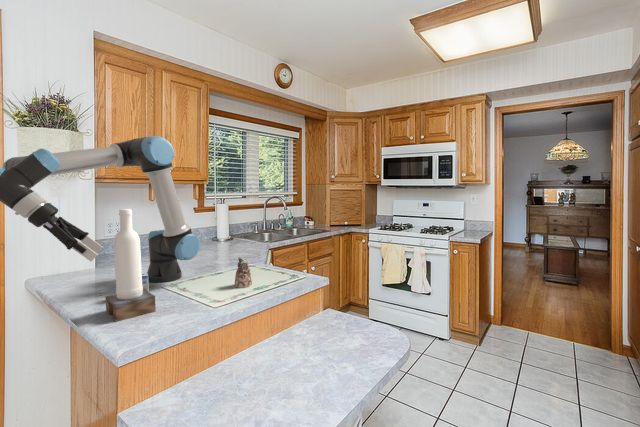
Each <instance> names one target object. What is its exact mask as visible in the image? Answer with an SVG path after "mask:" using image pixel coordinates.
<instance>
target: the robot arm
mask: <svg viewBox="0 0 640 427" xmlns="http://www.w3.org/2000/svg"><path fill="white" fill-rule="evenodd" d="M174 157H175V150H174V147H173V145H172V144H171V142H170V141H169V140H167V139H166V138H164V137H163V136H159V135H149V136H144V137H137V138H132V139H129V140H126V141H122V142H116V143H115V142H114V143H111V144H110V145H109V146H104V147H103V146H102V147H95V148H85V149H76V150H68V151H61V152H60V151H59V152H52V151H50V150H48V149H46V148H39V149H37V150H35V151H32V153H30V154H28V155H25V156H16V157H11V158H8V159H7V160H5V161H4V162H3V164H2V167H1V166H0V202H1V203H2V204H4V205H5V206H7V207H8V208H10V210H12V211H14V212H15V213H14V214H15V216H20V217H22V218H24V219H27V221H28V222H29V223H31V225H33V226H35V228H40V227H43V229H46V230H47V231H48V232H49V233H50V234H51V235H52V236H54V237H55V238H56V239H57V240H58V241H59V242H60V243H62V244H63V245H64V247H65V248H66V249H67V250H69V251H70V250H71V249H72V250H74V251H75V252H77V253H78V254H79V255H81V256H82V257H84V258H85V259H86V260H88V261H89V262H92V261H93V260H95V258H97V257H98V255H99V253H100V252H101V251H102V250H103V249H104V246H102V245H101V244H100V243H99V242H97V241H96V240H94V239H93V238H91V237H90V236H89V235H90V234H89V232H87V231H84V230H82V229H80V228H79V227H77V226H76V225H74V224H72V223H71V222H69V221H68V220H66V219H65V218H63V216H58V217H57V216H56V214H57V213H58V212H59V209H58V208H57V207H56V206H54V205H53V204H52V203H50V202H47V200H46V199H45V198H44V197H42V196H41V195H40V194H38V193H37V192H36V191H34V190H32V188H33V187H35V186H36V185H37V184H38V183H40V182H41V181H43V180H45V179H46V178H47V177H49V176H54V175H62V174H68V173H75V172H80V171H87V170H92V169H100V168H106V167H112V166H115V167H117V168H122V167H123V168H124V167H140V168H141V171H142V173H143V174H144V175H146V176H147V177H148V179H149V183H150V186H151V189H152V192H153V195H154V200H155V201H156V204H157V208H158V211H159V214H160V218H161V220H162V224H163V227H164V229H159V230H152V231H149V233H148V250H149V251H148V253H149V254H148V255H149V266H148V269H147V271H146V274H148V283H165V282H172V281H176V280H179V279H181V278H182V275H183V274H182V273H183V272H182V269H181V267H180V264H179V261H189V260H192V259H194V258H195V257H197V255H198V253H199V251H200V248H201V241H200V240H201V239H199V237H198V236H197V235H195V234H193V232H192V228H191V226H190V225H189V224H186V221H185V218H184V214H183V210H182V207H181V204H180V200H179V197H178V193H177V191H176V187H175V183H174V179H173V177H172V173H171V171H172V169H173V163H172V162H173V160H174ZM178 260H179V261H178Z"/></svg>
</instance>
